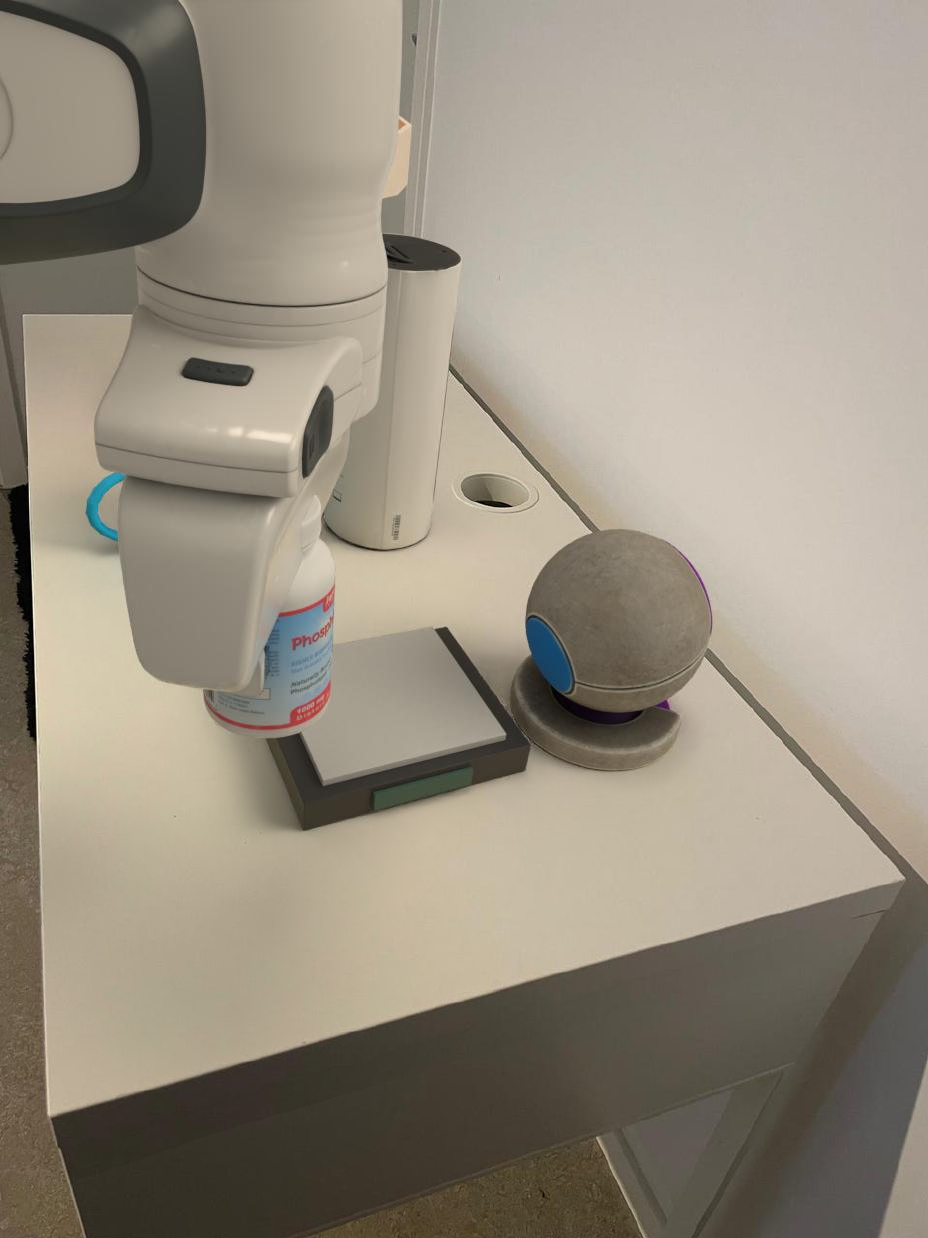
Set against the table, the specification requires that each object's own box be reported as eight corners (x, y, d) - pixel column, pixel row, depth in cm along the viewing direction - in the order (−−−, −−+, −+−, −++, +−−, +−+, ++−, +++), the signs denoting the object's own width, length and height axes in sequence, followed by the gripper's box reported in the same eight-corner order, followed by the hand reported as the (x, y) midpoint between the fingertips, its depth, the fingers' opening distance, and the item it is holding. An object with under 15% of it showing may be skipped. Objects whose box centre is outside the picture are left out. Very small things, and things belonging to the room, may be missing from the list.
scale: (305, 835, 56) (306, 801, 54) (246, 690, 66) (245, 657, 64) (528, 774, 63) (535, 742, 61) (443, 650, 73) (447, 620, 71)
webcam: (710, 742, 68) (774, 576, 59) (572, 793, 62) (620, 617, 53) (607, 642, 76) (649, 484, 67) (477, 678, 70) (505, 511, 62)
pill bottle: (320, 750, 42) (329, 547, 36) (189, 737, 42) (173, 530, 35) (337, 669, 47) (347, 477, 41) (220, 656, 47) (211, 461, 40)
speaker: (442, 551, 85) (477, 265, 70) (331, 554, 82) (343, 258, 67) (418, 495, 93) (445, 229, 78) (317, 497, 90) (324, 221, 75)
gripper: (257, 262, 42) (260, 516, 51) (65, 446, 26) (115, 781, 34) (389, 282, 43) (371, 533, 51) (282, 479, 26) (280, 805, 34)
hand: (267, 635), depth 42 cm, fingers closed on pill bottle, 6 cm apart
